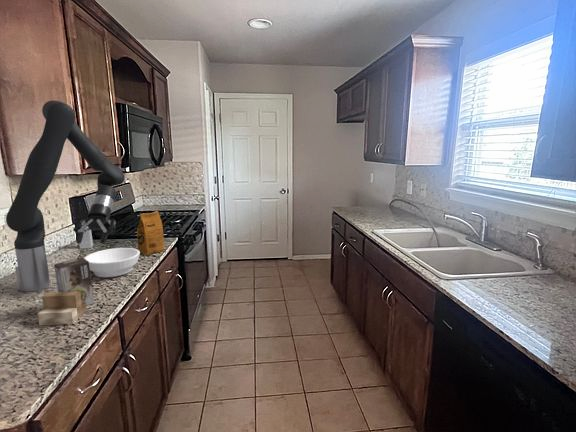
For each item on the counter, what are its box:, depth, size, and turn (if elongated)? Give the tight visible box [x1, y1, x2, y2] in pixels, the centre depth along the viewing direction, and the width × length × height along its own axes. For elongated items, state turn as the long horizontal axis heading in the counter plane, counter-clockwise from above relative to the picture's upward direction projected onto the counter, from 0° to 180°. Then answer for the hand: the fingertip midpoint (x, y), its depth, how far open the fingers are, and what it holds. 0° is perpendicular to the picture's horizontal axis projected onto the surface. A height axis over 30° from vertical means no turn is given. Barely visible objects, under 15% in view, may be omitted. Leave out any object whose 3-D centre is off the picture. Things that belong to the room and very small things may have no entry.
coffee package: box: [136, 210, 165, 256], centre depth 176 cm, size 10×12×22 cm
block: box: [41, 291, 87, 319], centre depth 108 cm, size 10×6×8 cm, turn 96°
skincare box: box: [78, 226, 94, 250], centre depth 185 cm, size 6×4×12 cm
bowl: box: [83, 247, 141, 278], centre depth 147 cm, size 22×22×8 cm
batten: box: [37, 308, 79, 326], centre depth 104 cm, size 10×3×4 cm, turn 96°
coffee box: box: [53, 257, 95, 307], centre depth 114 cm, size 9×6×16 cm
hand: (90, 242), depth 125 cm, fingers open, 8 cm apart
